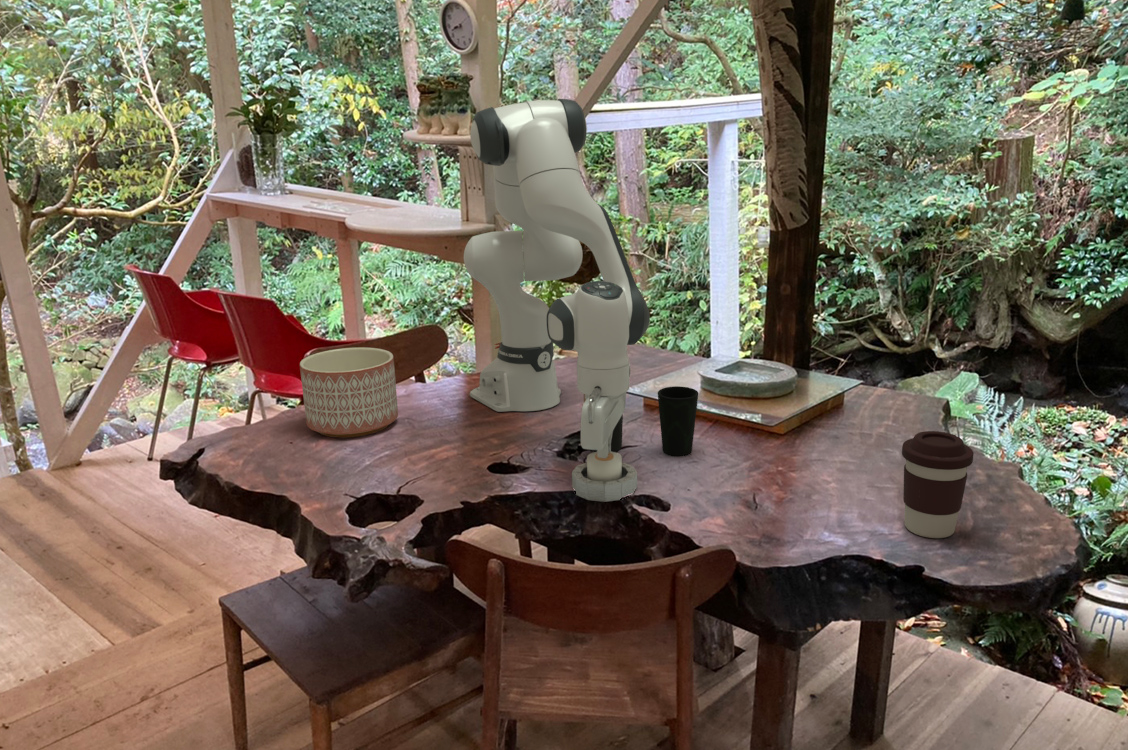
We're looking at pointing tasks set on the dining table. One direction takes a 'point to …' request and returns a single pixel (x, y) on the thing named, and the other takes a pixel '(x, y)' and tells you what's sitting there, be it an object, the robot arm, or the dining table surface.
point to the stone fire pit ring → (604, 484)
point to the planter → (349, 391)
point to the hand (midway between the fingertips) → (604, 455)
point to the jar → (604, 467)
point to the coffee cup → (934, 482)
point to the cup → (677, 419)
